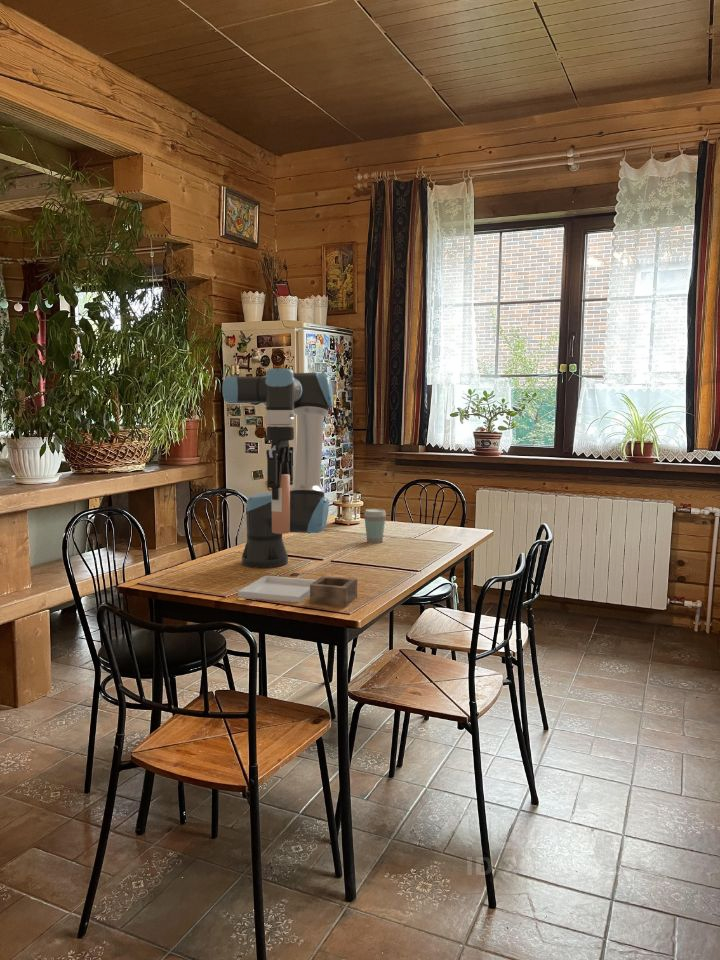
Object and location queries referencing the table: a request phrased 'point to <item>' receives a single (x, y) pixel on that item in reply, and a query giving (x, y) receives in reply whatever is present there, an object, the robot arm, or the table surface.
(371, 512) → the coffee cup
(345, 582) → the socket block
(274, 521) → the peg
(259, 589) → the tray
